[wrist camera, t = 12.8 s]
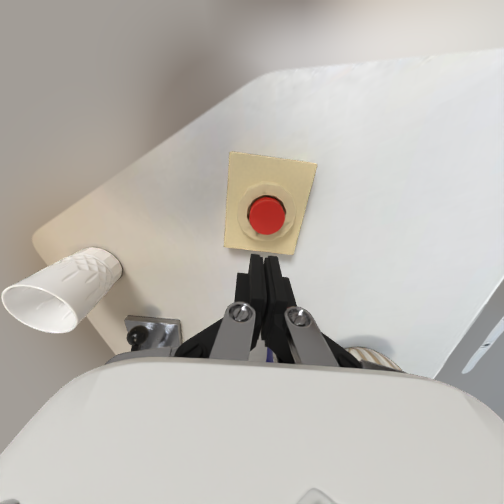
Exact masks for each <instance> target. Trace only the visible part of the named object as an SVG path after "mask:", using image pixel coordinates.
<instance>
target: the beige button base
mask: <svg viewBox="0 0 504 504" xmlns="http://www.w3.org/2000/svg"><path fill="white" fill-rule="evenodd" d="M316 168H317V164H315V163H311V162H303V161H296V160H289V159H282V158H275V157H268V156H261V155H254V154H247V153H240V152H233V151H232V152H229V168H228V185H227V202H226V220H225V237H224V247H227V248H236V249H244V250H253V251H262V252H271V253H280V254H289V255H293V254H294V250H295V246H296V243H297V239H298V235H299V232H300V228H301V224H302V220H303V217H304V213H305V209H306V205H307V202H308V198H309V194H310V191H311V187H312V183H313V179H314V176H315V172H316ZM263 197H270V198H274V199H276V200H277V201H278V202H279V203H280V204H281V206H282V208H283V210H284V213H285V221H284V224H283V226H282V227H281V229H280V230H278V231H277V232H275V233H273V234H270V235H264V234H260V233H258V232H256V231H255V230H254V229H253V228H252V226H251V224H250V220H249V216H250V209H251V206H252V205H253V203H254V202H255V201H257V200H258V199H260V198H263Z"/></svg>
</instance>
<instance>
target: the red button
mask: <svg viewBox="0 0 504 504" xmlns="http://www.w3.org/2000/svg"><path fill="white" fill-rule="evenodd" d="M249 220H250V224H251V226H252V228H253V229H254V230H255V231H256V232H258V233H260V234H264V235H270V234H273V233H275V232H277V231H278V230H280V229H281V227H282V226H283V224H284V221H285V213H284V210H283V208H282V206H281V204H280V203H279V202H278V201H277V200H276V199H274V198H270V197H263V198H260V199H258V200H257V201H255V202H254V203H253V205H252V206H251V209H250V216H249Z"/></svg>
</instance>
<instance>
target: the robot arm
mask: <svg viewBox="0 0 504 504" xmlns="http://www.w3.org/2000/svg"><path fill="white" fill-rule="evenodd" d="M260 331H261V340H264V342H265V347H268V348H269V349H271V350H272V351H273V360H274V363H270V362H255V361H248V360H249V354H250V351H252V350H253V349H254V348H255V347H256V345H257V340H259V336H260ZM0 504H504V421H503V420H502V419H501V418H500V417H499V416H498V415H497V414H495V413H494V412H493V411H492V410H491V409H490V408H489V407H487V406H486V405H485V404H484V403H482V402H481V401H479V400H478V399H476V398H475V397H473V396H471V395H470V394H468V393H466V392H464V391H462V390H460V389H458V388H455V387H453V386H451V385H448V384H446V383H443V382H440V381H437V380H434V379H430V378H427V377H423V376H418V375H413V374H408V373H406V372H404V371H401V370H397V369H394V368H390V367H387V366H384V365H380V364H377V363H373V362H370V361H366V360H363V359H361V360H360V361H358V360H357V358H355V357H354V356H353V355H352V354H351V353H349V352H348V351H346V350H345V349H344V348H342V347H341V346H340V345H338V344H337V343H335V342H334V341H333V340H331V339H330V338H329V337H327V336H326V335H324V334H323V333H322V332H321V331H320V330H319V328H318V326H317V324H316V322H315V320H314V318H313V317H312V315H311V314H310V313H309V312H308V311H307V310H305V309H303V308H301V307H297V305H296V302H295V298H294V295H293V291H292V288H291V284H290V281H289V278H287V277H282V274H281V270H280V265H279V261H278V257H277V256H268V258H265V260H264V264H263V257H260V255H257V254H251V257H250V265H249V272H248V274H245V273H237V282H236V291H235V301H234V303H232V304H230V305H229V306H228V307H227V309H226V311H225V314H224V317H223V318H222V319H220V320H219V321H217V322H216V323H214V324H212V325H211V326H209V327H208V328H206V329H204V330H203V331H201V332H200V333H198V334H197V335H195V336H193V337H192V338H190V339H189V340H187V341H186V342H184V343H183V344H181V345H180V346H179V347H177V348H171V346H167V347H160V348H153V349H146V350H139V351H132V352H125V353H122V354H118V355H116V356H114V357H113V358H111V359H110V360H109V361H108V362H107V363H106V364H105V365H103V366H100V367H98V368H95V369H92V370H90V371H88V372H85V373H83V374H81V375H79V376H78V377H76V378H74V379H73V380H71V381H70V382H68V383H67V384H66V385H64V386H63V387H62V388H61V389H60V390H59V391H58V392H56V394H54V395H53V396H52V397H51V398H50V399H49V400H48V401H47V402H46V403H45V404H44V406H43V407H42V408H41V409H40V410H39V411H38V412H37V413H36V414H35V415H34V416H33V417H32V418H31V420H30V421H29V422H28V423H27V424H26V425H25V427H24V428H23V429H22V430H21V431H20V433H19V434H18V435H17V436H16V437H15V438H14V439H13V441H12V442H11V443H10V444H9V445H8V446H7V448H6V449H5V450H4V451H3V452H2V454H1V455H0Z"/></svg>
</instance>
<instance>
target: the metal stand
mask: <svg viewBox="0 0 504 504" xmlns="http://www.w3.org/2000/svg"><path fill="white" fill-rule="evenodd" d="M124 321H125V324H126V328H127V331H128V332H129V331H130V330H131V329H132V328H133V327H135V326H138V325H143V326H145V327H147V328H148V330H149V337H148V339H147V341H146V342H145V343H144V344H142V345H141V350H146V349H153V348H160V347H167V346H171V348H177V347H179V346H180V345H181V344H182V339H181V328H180V320H172V319H162V318H151V317H140V316H129V315H128V316H127V317H126V319H125V320H124Z"/></svg>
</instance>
